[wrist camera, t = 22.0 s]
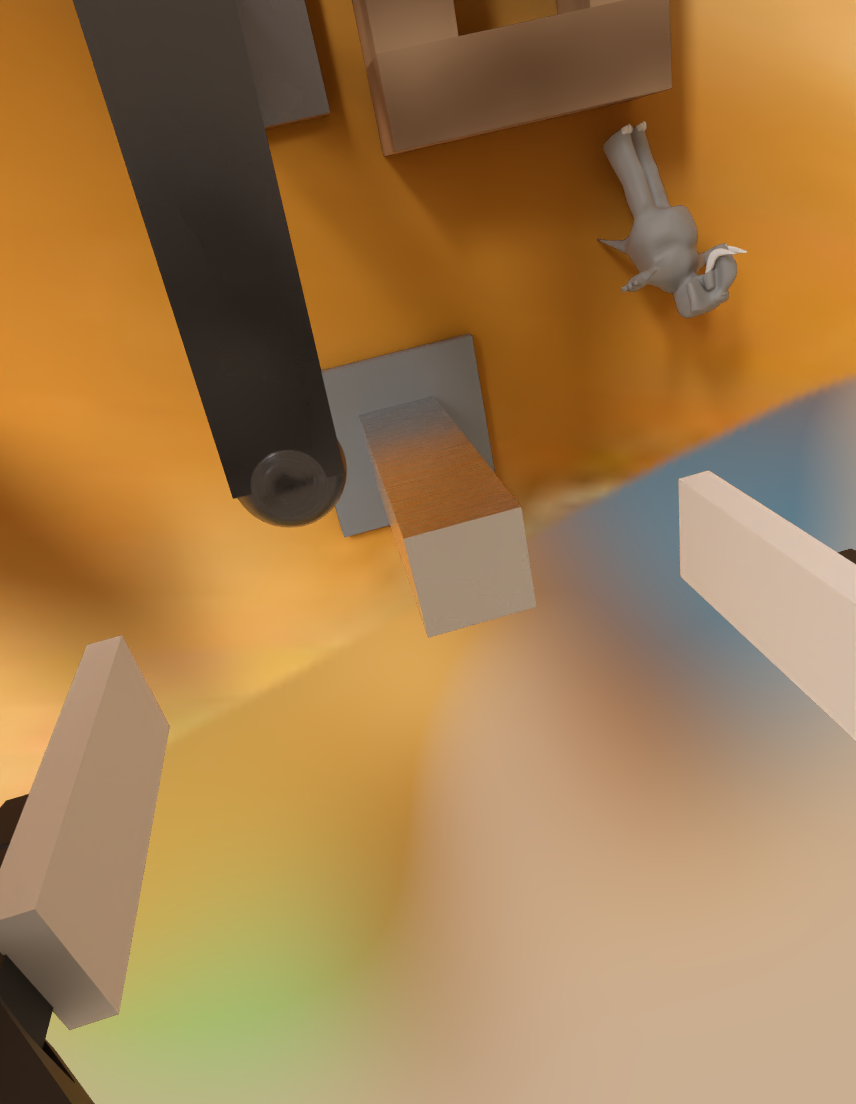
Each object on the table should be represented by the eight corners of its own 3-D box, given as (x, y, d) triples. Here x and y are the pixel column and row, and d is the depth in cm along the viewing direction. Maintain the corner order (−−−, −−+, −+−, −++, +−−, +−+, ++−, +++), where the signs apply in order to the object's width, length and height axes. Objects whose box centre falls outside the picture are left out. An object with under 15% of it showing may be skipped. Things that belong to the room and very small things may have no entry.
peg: (358, 414, 36) (403, 538, 22) (433, 395, 36) (521, 506, 23) (376, 485, 37) (428, 637, 24) (447, 466, 38) (536, 606, 25)
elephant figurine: (723, 90, 33) (791, 272, 34) (617, 167, 37) (680, 324, 39) (626, 85, 26) (714, 309, 28) (511, 178, 31) (592, 367, 32)
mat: (297, 376, 35) (297, 379, 34) (469, 333, 35) (471, 335, 35) (343, 532, 39) (344, 537, 38) (495, 491, 40) (498, 495, 39)
